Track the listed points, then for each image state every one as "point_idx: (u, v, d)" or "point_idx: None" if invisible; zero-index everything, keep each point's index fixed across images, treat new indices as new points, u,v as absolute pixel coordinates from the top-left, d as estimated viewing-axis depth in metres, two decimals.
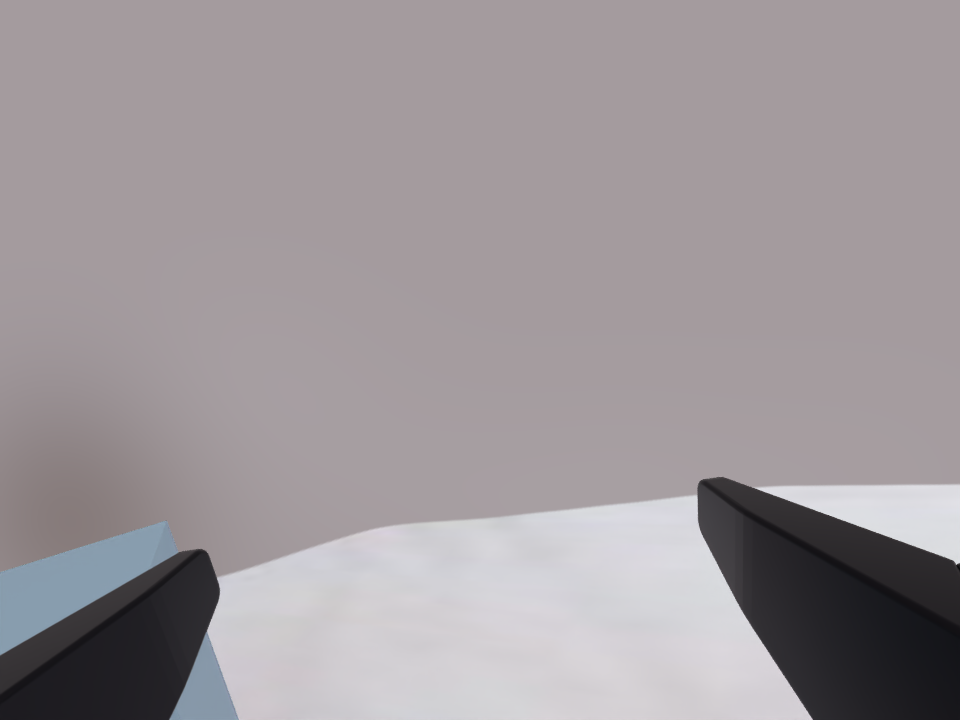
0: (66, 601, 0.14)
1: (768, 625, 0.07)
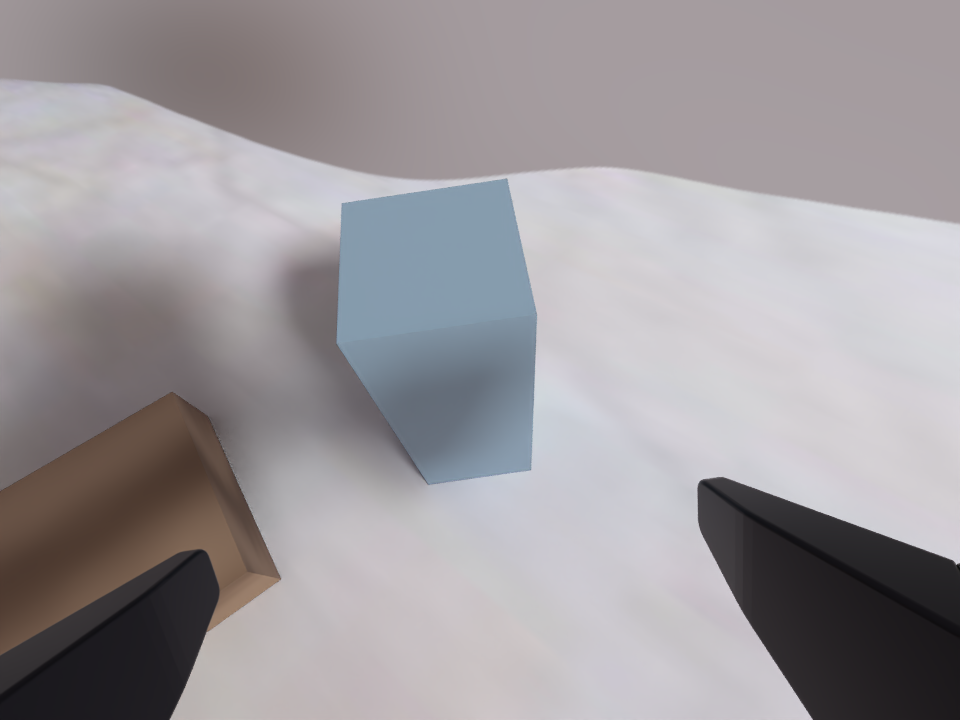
0: (447, 275, 0.13)
1: (768, 625, 0.07)
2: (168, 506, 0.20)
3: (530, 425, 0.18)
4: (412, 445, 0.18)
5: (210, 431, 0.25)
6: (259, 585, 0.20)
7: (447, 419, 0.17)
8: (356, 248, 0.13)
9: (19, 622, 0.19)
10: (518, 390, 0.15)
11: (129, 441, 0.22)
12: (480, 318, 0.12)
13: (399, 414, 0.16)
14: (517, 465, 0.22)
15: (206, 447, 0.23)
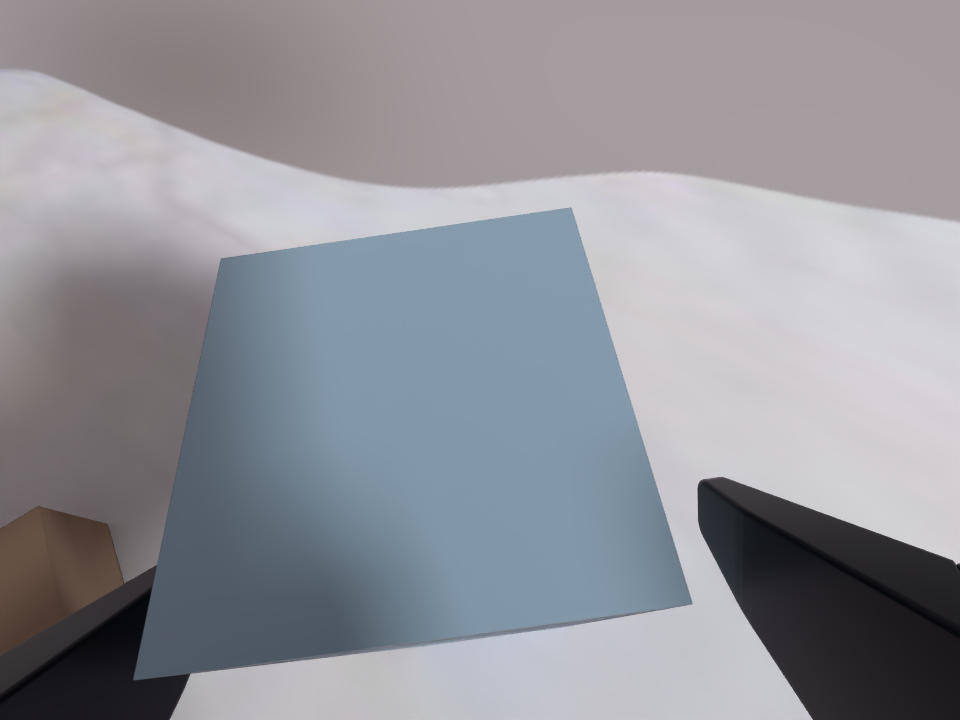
0: (442, 458, 0.05)
1: (768, 625, 0.07)
2: None
3: None
4: None
5: (105, 553, 0.17)
6: None
7: None
8: (234, 372, 0.06)
9: None
10: None
11: None
12: (533, 608, 0.04)
13: None
14: (551, 628, 0.14)
15: (86, 592, 0.15)
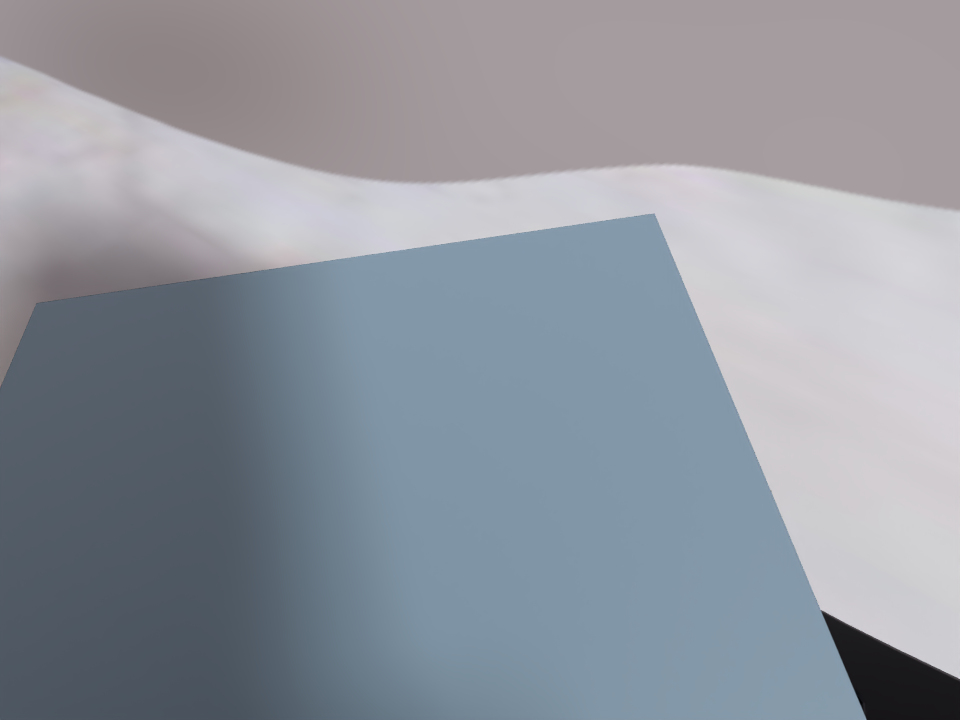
0: None
1: None
2: None
3: None
4: None
5: None
6: None
7: None
8: (2, 547, 0.03)
9: None
10: None
11: None
12: None
13: None
14: None
15: None
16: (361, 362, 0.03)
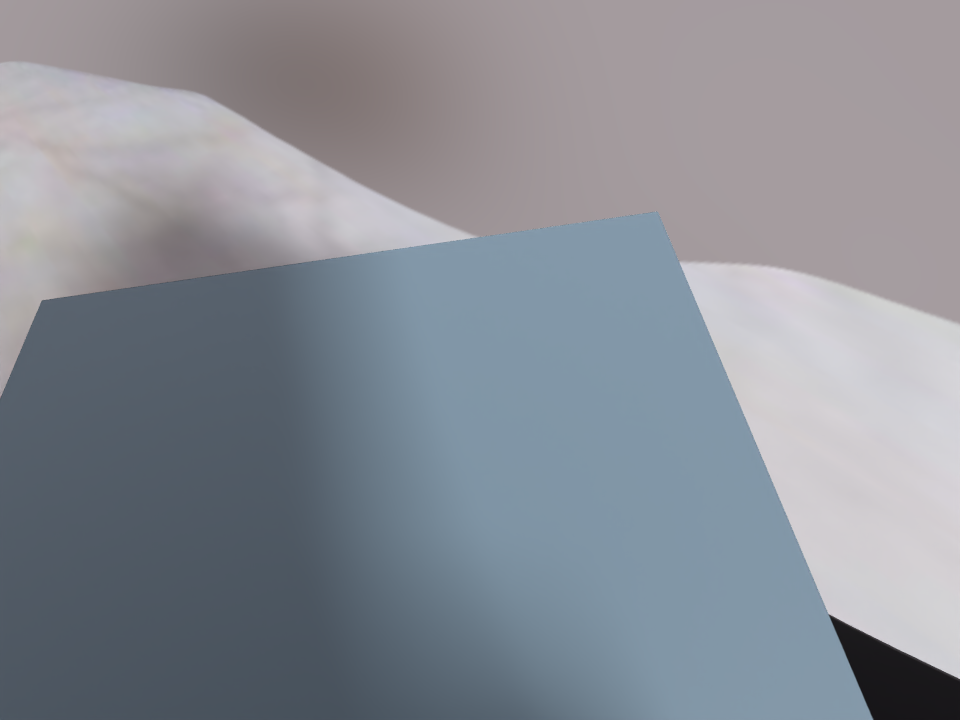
0: None
1: None
2: None
3: None
4: None
5: None
6: None
7: None
8: (9, 542, 0.03)
9: None
10: None
11: None
12: None
13: None
14: None
15: None
16: (366, 359, 0.03)
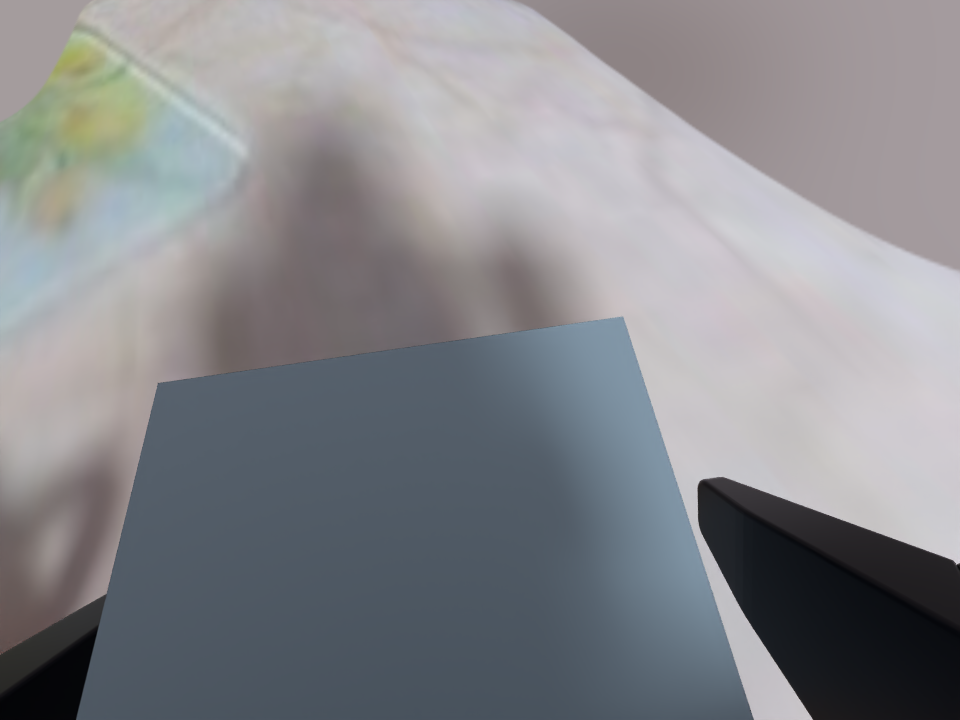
0: None
1: (768, 625, 0.07)
2: None
3: None
4: None
5: None
6: None
7: None
8: (163, 571, 0.04)
9: None
10: None
11: None
12: None
13: None
14: None
15: None
16: (407, 434, 0.05)
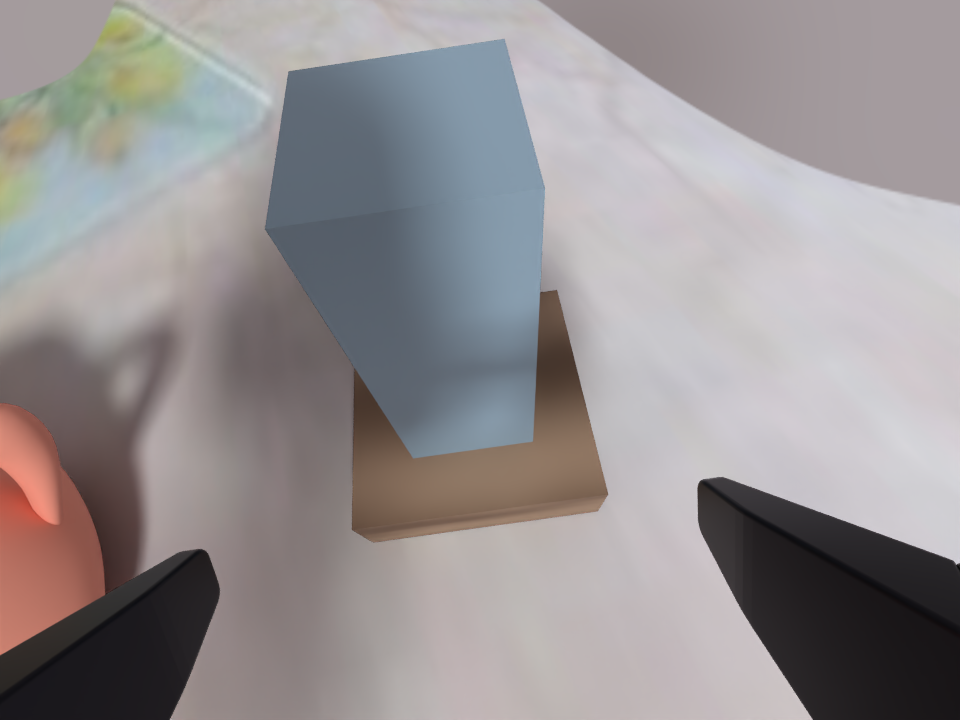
0: (422, 145, 0.09)
1: (768, 625, 0.07)
2: (539, 395, 0.21)
3: (533, 377, 0.15)
4: (389, 403, 0.15)
5: None
6: (587, 508, 0.20)
7: (429, 365, 0.13)
8: (303, 119, 0.10)
9: None
10: (518, 322, 0.12)
11: None
12: (467, 194, 0.08)
13: (367, 355, 0.12)
14: (516, 434, 0.19)
15: None
16: (404, 78, 0.10)
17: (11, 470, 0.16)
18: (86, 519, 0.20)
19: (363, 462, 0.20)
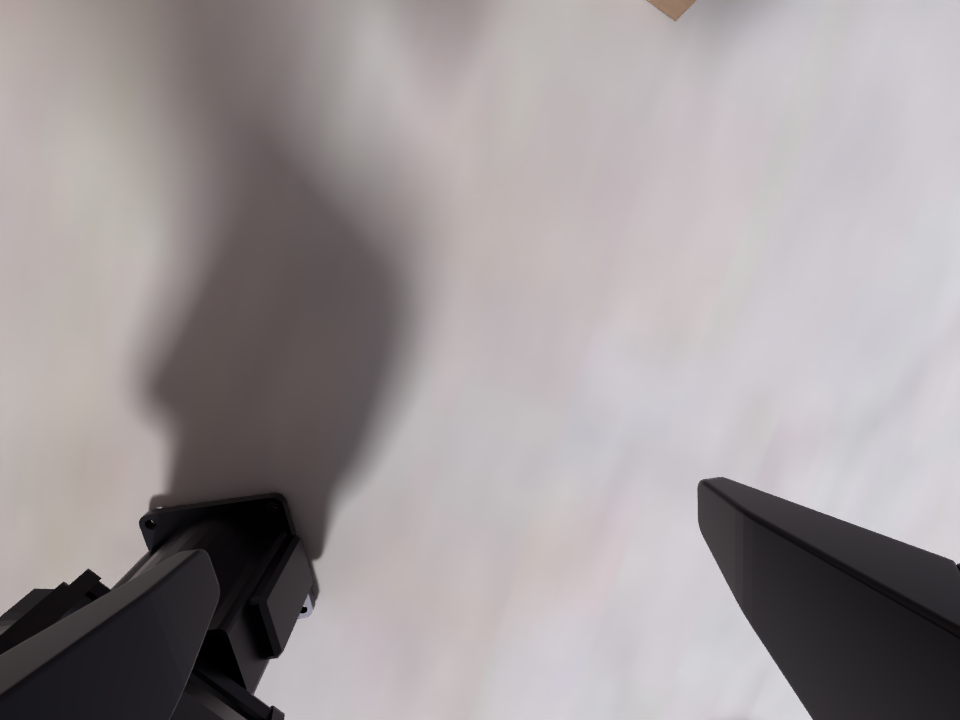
0: None
1: (768, 625, 0.07)
2: None
3: None
4: None
5: None
6: None
7: None
8: None
9: None
10: None
11: None
12: None
13: None
14: None
15: None
16: None
17: None
18: None
19: None
